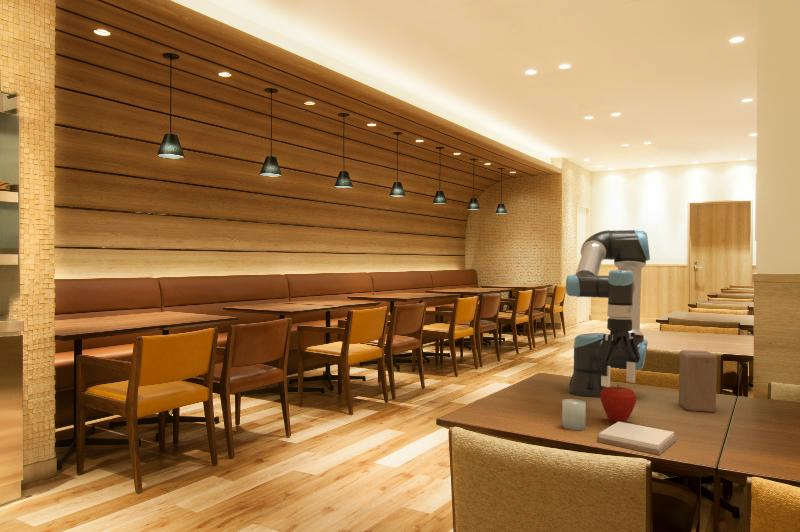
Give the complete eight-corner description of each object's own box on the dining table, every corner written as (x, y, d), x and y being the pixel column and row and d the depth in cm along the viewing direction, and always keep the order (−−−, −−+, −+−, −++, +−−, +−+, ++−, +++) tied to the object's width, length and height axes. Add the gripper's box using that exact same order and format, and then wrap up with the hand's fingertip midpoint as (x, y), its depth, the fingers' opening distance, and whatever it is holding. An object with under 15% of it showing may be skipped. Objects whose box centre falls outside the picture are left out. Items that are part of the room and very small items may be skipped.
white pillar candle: (557, 426, 182) (557, 400, 182) (571, 422, 186) (571, 397, 186) (575, 431, 176) (576, 405, 176) (590, 428, 181) (590, 402, 181)
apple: (616, 428, 181) (617, 389, 181) (592, 419, 191) (593, 382, 191) (643, 424, 185) (644, 386, 185) (618, 416, 195) (619, 380, 195)
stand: (596, 441, 167) (596, 433, 167) (617, 428, 180) (617, 420, 180) (659, 455, 156) (659, 445, 156) (676, 440, 169) (676, 431, 169)
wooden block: (716, 413, 201) (718, 355, 201) (685, 411, 203) (686, 353, 203) (707, 405, 211) (708, 350, 211) (677, 404, 213) (679, 349, 213)
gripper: (606, 320, 177) (604, 390, 177) (652, 317, 192) (650, 382, 192) (585, 318, 183) (584, 385, 183) (631, 315, 198) (630, 378, 198)
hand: (618, 384), depth 188 cm, fingers open, 13 cm apart
